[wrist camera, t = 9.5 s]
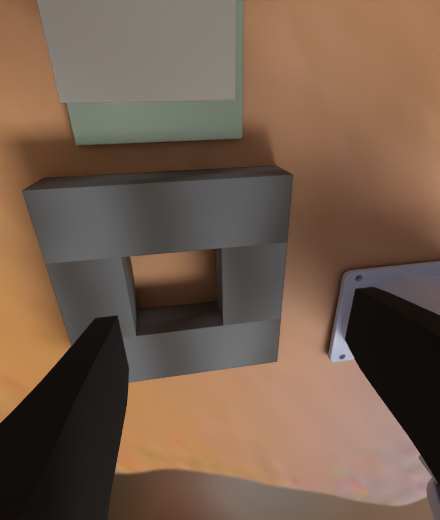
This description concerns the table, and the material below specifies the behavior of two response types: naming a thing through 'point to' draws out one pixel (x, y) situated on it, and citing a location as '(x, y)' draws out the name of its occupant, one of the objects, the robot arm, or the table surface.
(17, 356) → the table surface
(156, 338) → the pocket board
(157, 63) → the block
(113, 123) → the mat
